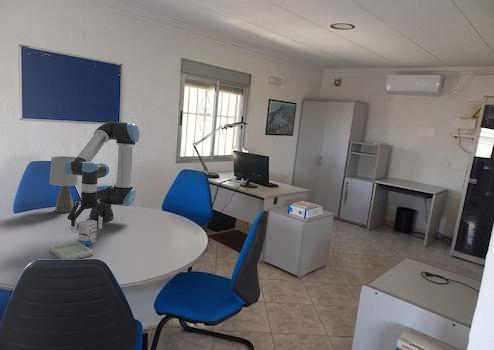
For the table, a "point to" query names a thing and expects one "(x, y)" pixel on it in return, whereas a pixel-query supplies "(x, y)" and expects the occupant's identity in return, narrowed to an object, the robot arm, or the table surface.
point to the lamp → (63, 182)
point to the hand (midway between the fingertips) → (87, 230)
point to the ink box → (87, 232)
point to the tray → (71, 251)
